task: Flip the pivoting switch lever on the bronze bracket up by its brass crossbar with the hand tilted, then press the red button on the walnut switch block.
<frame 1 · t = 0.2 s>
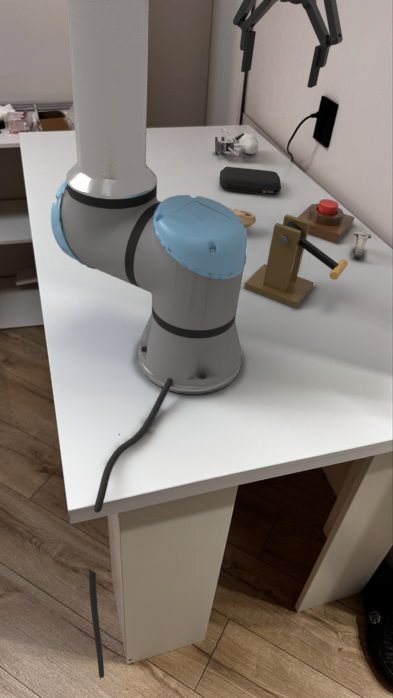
hand: (277, 78, 99), 28 cm above the table, tool pointing down, fingers open, 13 cm apart
switch block: (322, 227, 115), on the table
clip-on lamp: (234, 152, 146), on the table
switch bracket: (278, 288, 96), on the table
wristwatch: (356, 255, 107), on the table
carrying case: (249, 188, 129), on the table
pivoting switch lever: (312, 249, 88), point 9 cm above the table, hinge at -20.0°
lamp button: (327, 207, 112), point 5 cm above the table, slide at 0.1 cm
pottery oil lamp: (223, 233, 110), on the table
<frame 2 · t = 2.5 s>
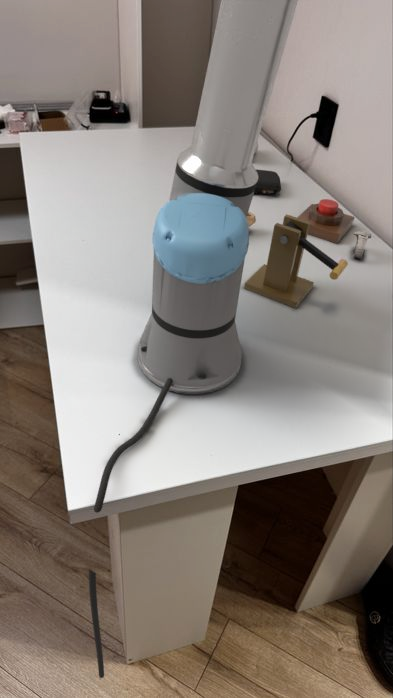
nothing on the table moved.
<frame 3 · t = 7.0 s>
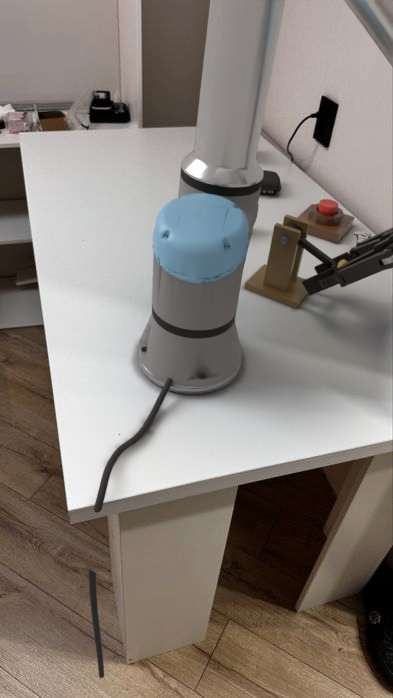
hand: (312, 280, 91), 4 cm above the table, tool tilted 45°, fingers closed on pivoting switch lever, 5 cm apart
pivoting switch lever: (312, 249, 88), point 9 cm above the table, hinge at -20.0°, touching gripper
everything else where it was.
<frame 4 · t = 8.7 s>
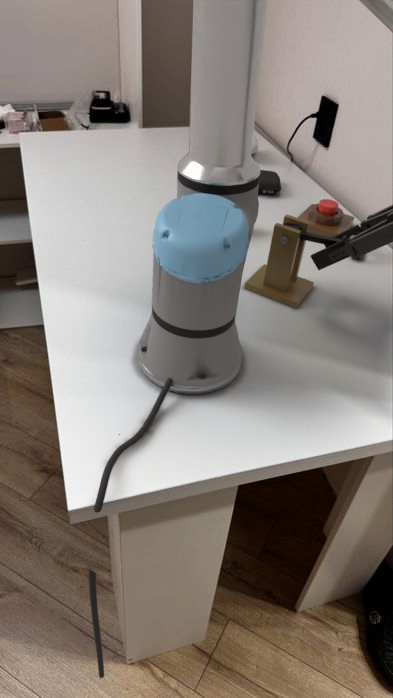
hand: (321, 255, 88), 9 cm above the table, tool tilted 45°, fingers closed on pivoting switch lever, 5 cm apart
pivoting switch lever: (317, 238, 87), point 12 cm above the table, hinge at 7.4°, touching gripper
everything else where it was.
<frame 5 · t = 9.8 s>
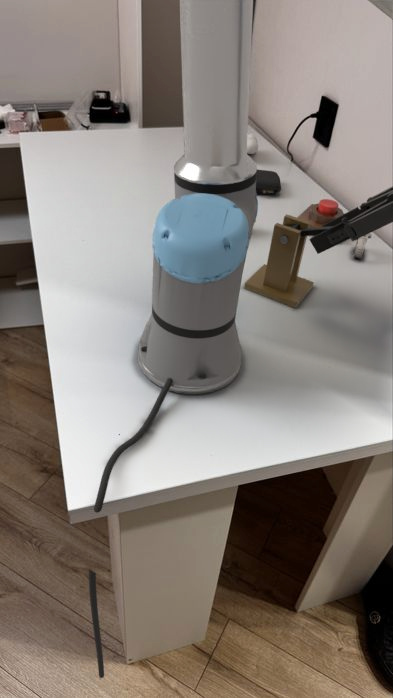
hand: (321, 238, 86), 12 cm above the table, tool tilted 45°, fingers closed on pivoting switch lever, 5 cm apart
pivoting switch lever: (317, 231, 86), point 13 cm above the table, hinge at 22.8°, touching gripper
everything else where it was.
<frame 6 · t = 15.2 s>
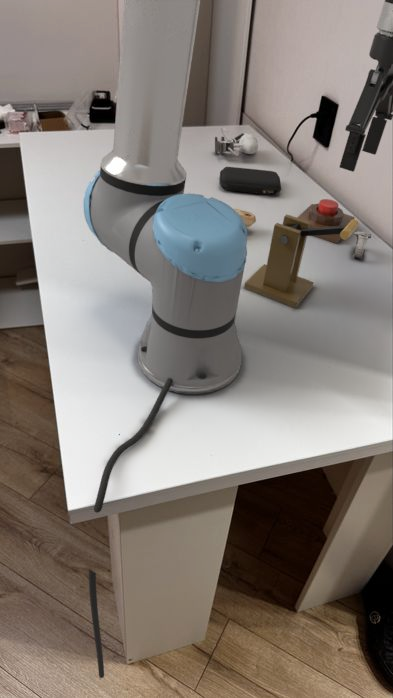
hand: (358, 160, 102), 16 cm above the table, tool pointing down, fingers open, 13 cm apart
pivoting switch lever: (317, 231, 86), point 13 cm above the table, hinge at 22.6°
everything else where it was.
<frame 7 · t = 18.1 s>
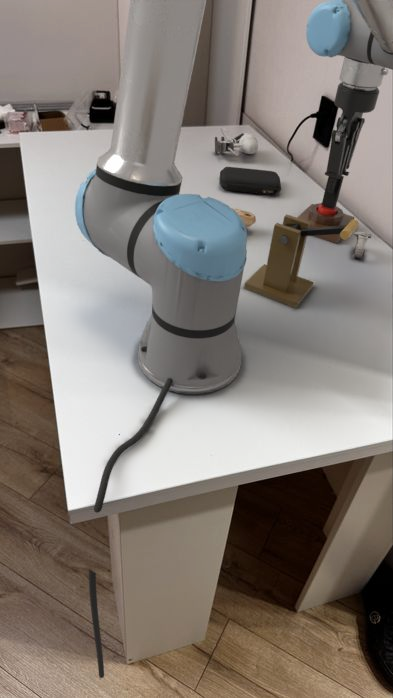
hand: (328, 205, 112), 5 cm above the table, tool pointing down, fingers closed
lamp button: (327, 211, 113), point 4 cm above the table, slide at -0.7 cm, touching gripper
everything else where it was.
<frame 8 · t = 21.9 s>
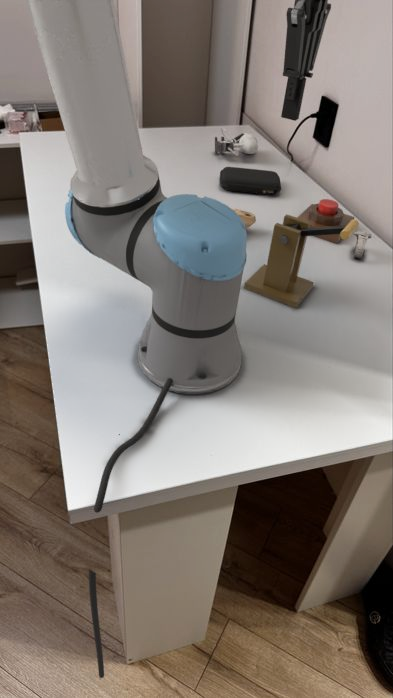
hand: (289, 117, 92), 24 cm above the table, tool pointing down, fingers closed
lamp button: (327, 207, 112), point 5 cm above the table, slide at 0.1 cm
everything else where it was.
at the end: pivoting switch lever at +23° (first picture: -20°); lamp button pushed in 1.0 cm at the most during the clip, back to where it started at the end; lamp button slide at 0.1 cm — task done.
